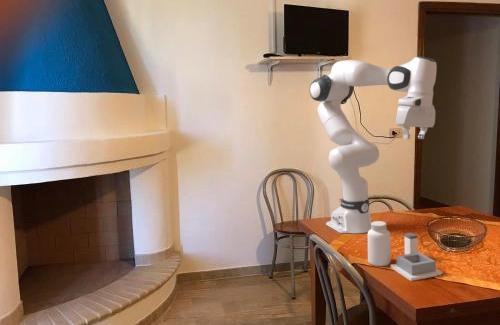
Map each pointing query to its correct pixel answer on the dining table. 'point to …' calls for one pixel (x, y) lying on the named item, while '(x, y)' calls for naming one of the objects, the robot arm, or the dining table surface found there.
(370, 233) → the pill bottle
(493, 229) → the dining table surface
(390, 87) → the robot arm
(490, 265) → the dining table surface
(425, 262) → the socket
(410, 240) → the plug
